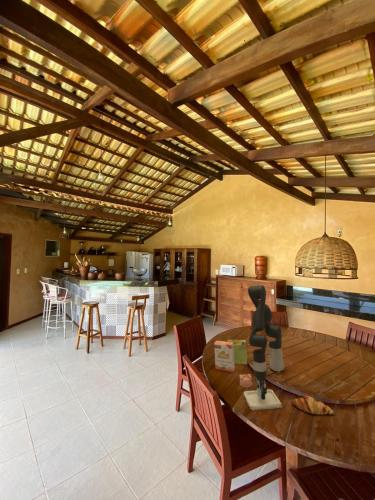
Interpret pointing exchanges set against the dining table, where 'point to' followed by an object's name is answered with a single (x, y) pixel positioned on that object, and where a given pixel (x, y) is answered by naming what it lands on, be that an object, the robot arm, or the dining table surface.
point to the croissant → (311, 405)
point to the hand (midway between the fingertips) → (261, 395)
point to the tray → (258, 403)
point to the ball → (259, 392)
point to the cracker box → (224, 356)
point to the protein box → (239, 351)
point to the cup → (245, 380)
